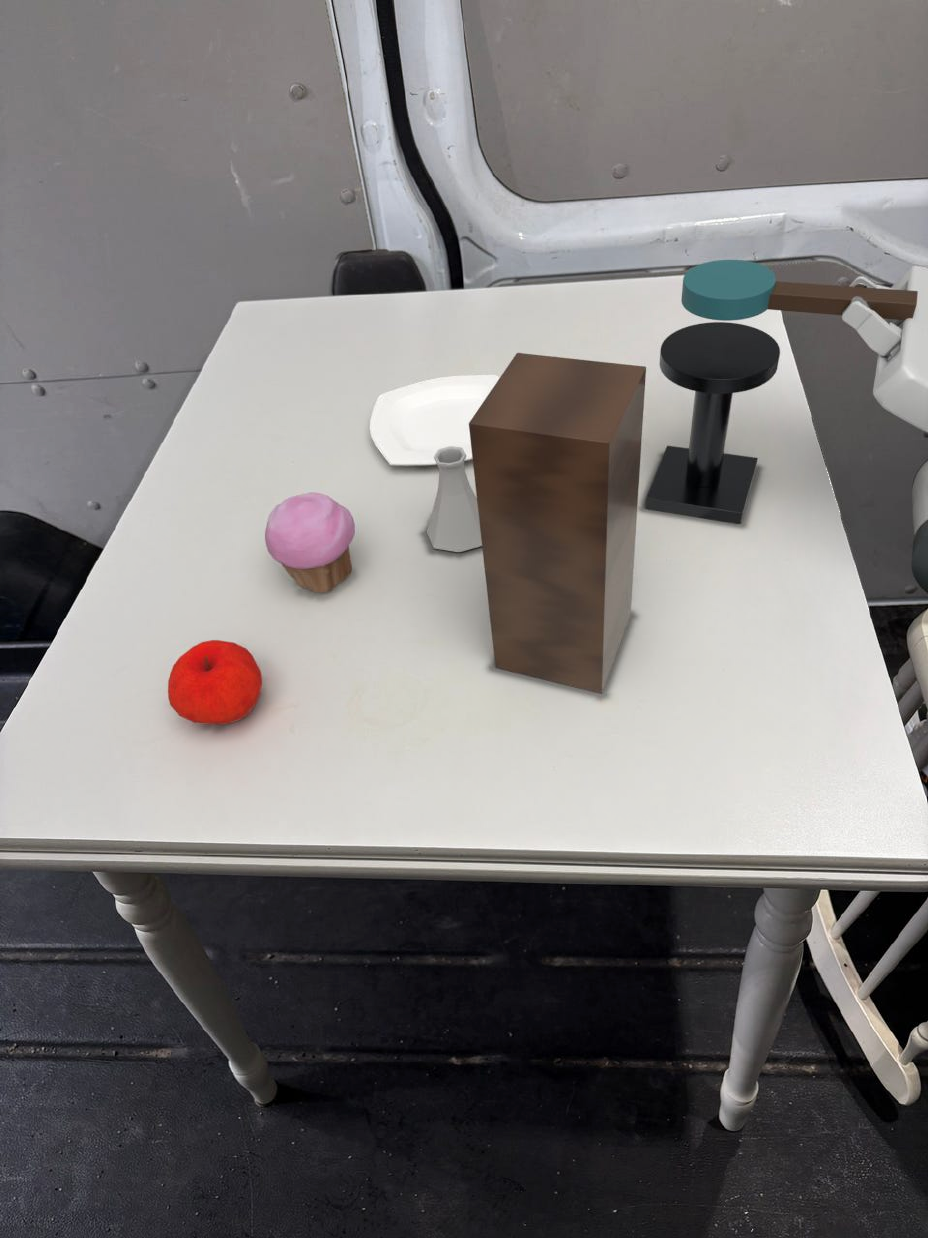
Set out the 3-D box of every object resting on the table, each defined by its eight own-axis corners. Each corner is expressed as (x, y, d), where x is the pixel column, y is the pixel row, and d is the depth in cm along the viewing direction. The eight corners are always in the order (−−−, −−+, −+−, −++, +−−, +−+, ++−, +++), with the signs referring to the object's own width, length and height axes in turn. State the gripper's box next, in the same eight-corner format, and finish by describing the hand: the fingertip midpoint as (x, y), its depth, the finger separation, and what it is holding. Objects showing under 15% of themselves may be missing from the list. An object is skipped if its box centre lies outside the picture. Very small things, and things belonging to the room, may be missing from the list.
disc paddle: (914, 293, 74) (921, 270, 72) (910, 336, 69) (917, 313, 67) (691, 277, 80) (693, 256, 79) (672, 316, 75) (674, 295, 74)
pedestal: (630, 615, 79) (646, 366, 61) (601, 693, 73) (609, 443, 55) (530, 594, 83) (516, 352, 64) (495, 668, 76) (468, 423, 58)
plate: (540, 459, 98) (540, 445, 97) (378, 488, 97) (375, 474, 96) (509, 378, 111) (508, 365, 110) (366, 403, 111) (364, 389, 109)
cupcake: (381, 566, 88) (363, 489, 81) (332, 619, 83) (308, 543, 76) (315, 543, 91) (292, 468, 84) (264, 593, 87) (236, 518, 79)
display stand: (761, 466, 93) (787, 327, 81) (744, 528, 86) (771, 385, 74) (662, 452, 97) (674, 317, 85) (639, 510, 90) (648, 372, 78)
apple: (184, 755, 73) (153, 703, 68) (184, 688, 78) (156, 635, 73) (275, 733, 74) (251, 679, 68) (268, 668, 79) (246, 613, 74)
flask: (493, 552, 87) (486, 474, 80) (425, 556, 88) (411, 479, 81) (493, 508, 93) (486, 431, 85) (428, 513, 93) (416, 437, 86)
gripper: (946, 475, 69) (809, 383, 68) (951, 352, 82) (835, 274, 81) (1014, 423, 64) (867, 324, 63) (1008, 301, 77) (885, 217, 76)
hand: (849, 295), depth 72 cm, fingers closed on disc paddle, 2 cm apart
